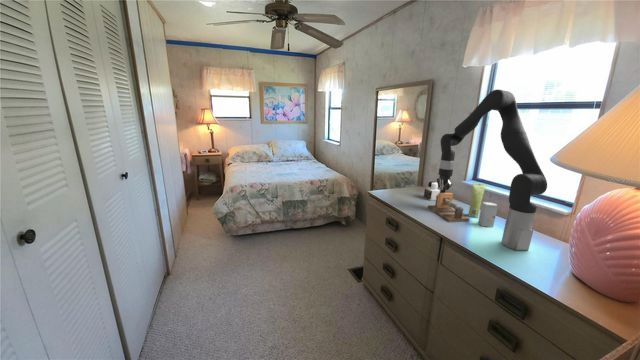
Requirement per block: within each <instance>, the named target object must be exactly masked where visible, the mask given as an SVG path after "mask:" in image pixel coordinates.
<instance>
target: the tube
mask: <svg viewBox="0 0 640 360" xmlns="http://www.w3.org/2000/svg"><path fill="white" fill-rule="evenodd" d="M471 186H472V187H471V197H470V201H469V202H470V204H469V210H468V213H467V214H468V216H469V217H471V218H479V215H480V211H481V206H482V202H483V201H482V200H483V197H484V195H485V190H486V187H487V184H486V183H472V185H471Z"/></svg>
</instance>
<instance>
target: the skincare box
mask: <svg viewBox="0 0 640 360" xmlns="http://www.w3.org/2000/svg"><path fill="white" fill-rule="evenodd" d="M498 206H499V205H498V204H496V203H495V202H489V201H488V202H487V201H481V206H480V210H479V215H478V221H477V222H478V224H479V225H480V226H481V227H491V228H493V227H494V225H495V220H496V216H497V212H498V211H497V210H498Z"/></svg>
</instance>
